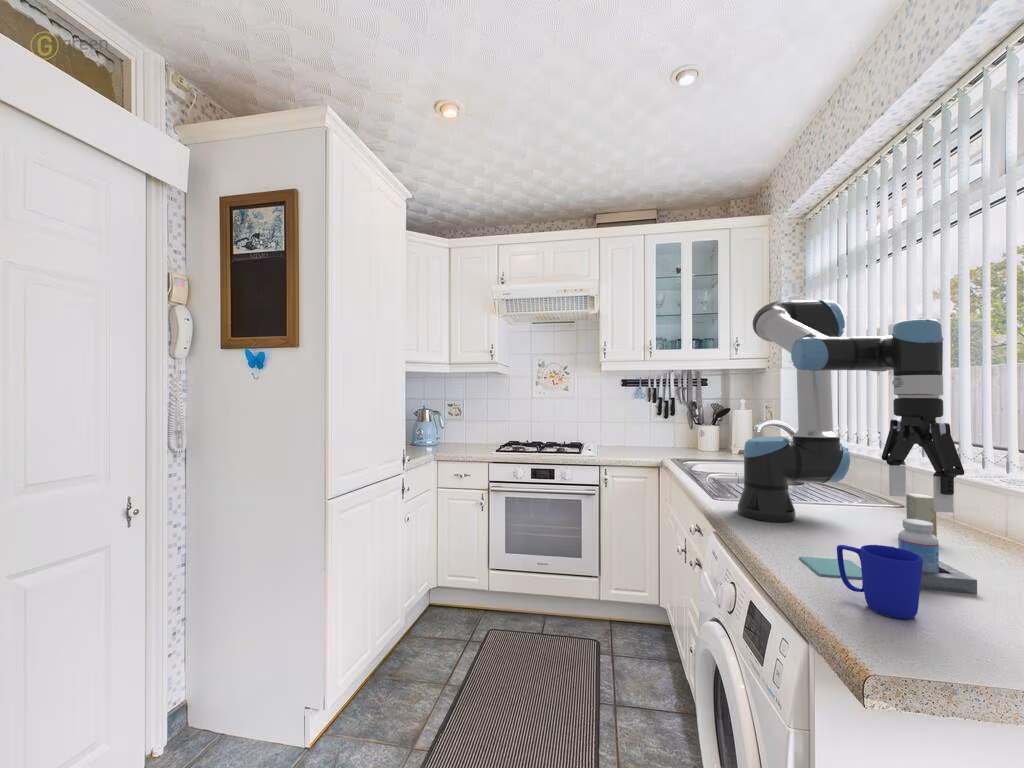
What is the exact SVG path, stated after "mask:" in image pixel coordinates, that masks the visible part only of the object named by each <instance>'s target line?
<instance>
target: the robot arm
mask: <svg viewBox="0 0 1024 768" xmlns="http://www.w3.org/2000/svg"><path fill="white" fill-rule="evenodd" d="M845 318H846V317H845V314H844V311H843V309H842V307H841V306H840V305H839V304H838V302H836V301H834V300H830V299H805V300H804V299H802V300H801V299H800V300H799V299H798V300H778V301H773V302H770V303H768V304H765V305H764V306H762V307H761V308H760V309H758V310H757V311H756V313H755V315H754V316H753V318H752V319H753V320H752V329H753V332H754V333H755V334H756V335H757V337H759V338H760V339H761V340H763V341H766V342H770V343H775V344H776V345H777V346H779V347H781V348H782V349H784V350H785V351H787V352H788V353H790V357H791V363H792V364H793V366H794V368H796V389H797V390H796V393H797V395H796V396H797V425H798V426H797V427H798V430H797V431H796V432H795V433H794V434H793V435H792V441H790V440H789V438H788V437H787V436H781V435H778V436H775V435H774V436H773V435H772V436H771V435H770V436H759V437H754V438H749V439H748V440H746V441H745V443H744V448H743V449H744V450H743V467H744V468H743V473H744V474H743V481H744V482H743V483H744V485H743V490H742V492H741V496H740V498H739V501H738V503H737V513H738V515H740V516H743V517H745V518H748V519H752V520H757V521H761V522H762V521H763V522H772V523H788V522H794V521H795V520H796V509H795V507H794V504H793V501H792V498H791V495H790V492H789V482H802V483H803V482H806V483H821V484H826V483H838V482H840V481H842V480H844V478H845V477H846V475H848V472H849V469H850V465H851V453H850V451H849V448H848V446H847V445H846V444H845V443H843V442H841V441H840V439H841V438H840V436H839V435H838V433H836V432H835V431H834V422H833V418H834V417H833V396H832V395H833V394H832V371H871V372H888V371H893V374H892V375H893V380H892V386H893V395H894V396H897V397H895V398H894V399H893V415H894V416H895V417H900V419H893V418H892V419H890V420H889V423H890V424H889V425H890V426H889V431H888V433H887V434H888V435H887V436H886V437H887V438H886V441H885V444H884V448H883V451H882V454H881V460H882V461H886V464H887V465H888V481H889V482H888V483H889V484H888V485H889V486H888V488H889V496H890V497H899V498H900V497H904V498H906V494H907V484H906V483H907V482H906V481H907V478H906V473H907V472H906V469H907V468H906V465H907V463H906V462H905V460H906V459H907V457H908V455H909V454H910V451H911V450H912V449H913V447H914V445H918V446H919V447H920V448H922V449H923V451H924V452H925V455H926V457H927V459H928V460H929V462H930V464H931V466H932V467H933V470H934V471H935V472H934V473H933V474H932V477H933V478H932V481H933V482H932V483H933V485H932V486H933V487H932V488H933V490H932V491H933V498H934V511H936V513H954V493H955V487H954V486H955V478H957V476H964V474H965V470H964V467H963V465H962V461H961V458H960V456H959V453H958V451H957V448H956V445H955V443H954V440H953V436H952V433H951V425H950V423H949V422H937V418H941V417H943V416H944V400H943V399H942V398H940V396H943V395H944V375H943V364H944V361H943V360H944V359H943V357H944V354H943V353H944V347H943V346H944V342H943V341H944V337H943V331H942V324H941V321H939V320H936V319H934V318H932V319H931V318H925V319H924V318H922V319H920V318H919V319H909V320H908V319H907V320H902V321H901V320H900V321H897V322H895V323H894V325H893V327H892V331H891V334H889V335H884V336H843V334H844V333H845V328H846V319H845ZM841 336H842V337H841Z"/></svg>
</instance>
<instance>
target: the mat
mask: <svg viewBox="0 0 1024 768" xmlns="http://www.w3.org/2000/svg"><path fill="white" fill-rule="evenodd" d="M798 558H799V560H800V561H802V562H803V563H804V564H805V565H806V566H808V567H809V568H810V569H811V570H813V572H815V573H816V574H817V575H818V576H819V577H827V578H828V577H829V578H840V579H841V576H840V572H839V566H838V559H837V558H829V557H828V558H826V557H825V558H824V557H812V556H811V557H810V556H798ZM843 561H844V568H845V573H846V576H847V579H855V580H862V570H861V566H859V565H858V564H856V563H854V562H853V561H852V560H850V559H843Z"/></svg>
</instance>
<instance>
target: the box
mask: <svg viewBox="0 0 1024 768" xmlns="http://www.w3.org/2000/svg"><path fill="white" fill-rule="evenodd" d="M905 500H906V501H905V503H906V507H905V508H906V519H917V520H923V521H927V522H931V523H932V524H933V529H934V530H933V532H932V535H934V536H935V537H936V538H937V539H938V536H937V535H938V532H937V530H938V529H937V528H938V527H937V523H938V522H937V512H936V511H934V496H930V495H927V494H924V493H923V494H921V493H910V492H909V493H906V497H905Z"/></svg>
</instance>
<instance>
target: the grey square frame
mask: <svg viewBox="0 0 1024 768" xmlns="http://www.w3.org/2000/svg"><path fill="white" fill-rule="evenodd" d="M920 590H923V591H925V590H926V591H937V592H952V593H953V592H954V593H964V594H966V593H967V594H976V595H977V594H978V579H976V578H974V577H972V576H970V575H969V574H966V573H964V572H962V571H960V570H958V569H956V568H954V567H952V566H950V565H949V564H946V563H944V562H942V561H940V560H939V573H930V572H922V576H921V586H920Z"/></svg>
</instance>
